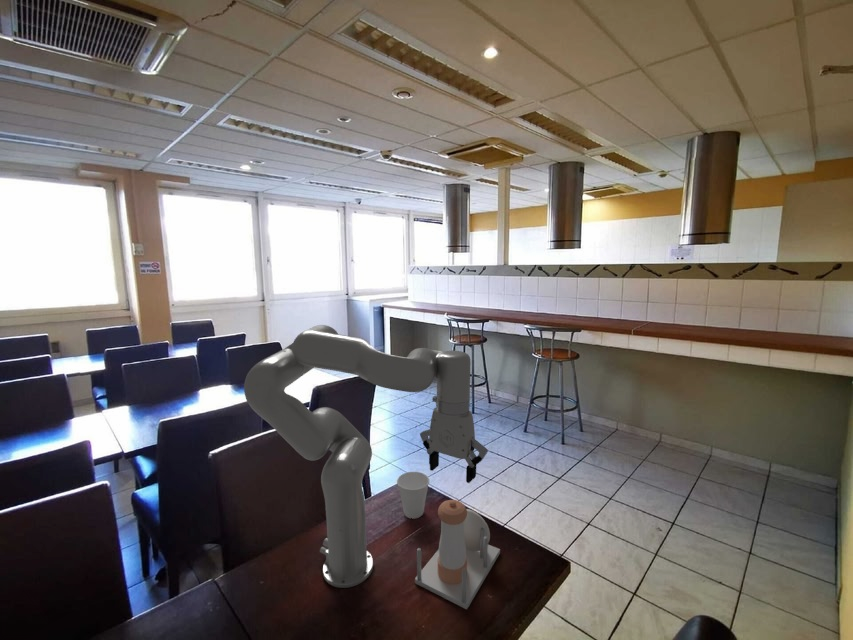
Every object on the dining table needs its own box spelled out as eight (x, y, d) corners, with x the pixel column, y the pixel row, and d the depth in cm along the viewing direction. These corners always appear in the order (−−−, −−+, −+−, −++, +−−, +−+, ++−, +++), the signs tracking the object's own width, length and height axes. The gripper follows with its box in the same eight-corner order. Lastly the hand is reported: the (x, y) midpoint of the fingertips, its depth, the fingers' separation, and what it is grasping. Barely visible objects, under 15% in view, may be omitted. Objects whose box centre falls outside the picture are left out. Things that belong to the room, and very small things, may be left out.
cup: (416, 528, 116) (415, 493, 114) (390, 515, 122) (390, 482, 120) (436, 510, 124) (435, 478, 122) (411, 499, 130) (410, 468, 128)
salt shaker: (464, 560, 102) (465, 492, 99) (469, 583, 95) (470, 510, 92) (436, 562, 102) (435, 493, 99) (439, 585, 95) (439, 512, 91)
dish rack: (414, 583, 97) (414, 537, 95) (453, 534, 113) (453, 494, 111) (466, 609, 89) (467, 561, 87) (499, 553, 106) (501, 511, 104)
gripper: (412, 402, 93) (412, 470, 95) (481, 419, 84) (478, 493, 86) (429, 393, 99) (429, 457, 102) (494, 407, 90) (492, 477, 93)
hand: (451, 473), depth 94 cm, fingers open, 9 cm apart
